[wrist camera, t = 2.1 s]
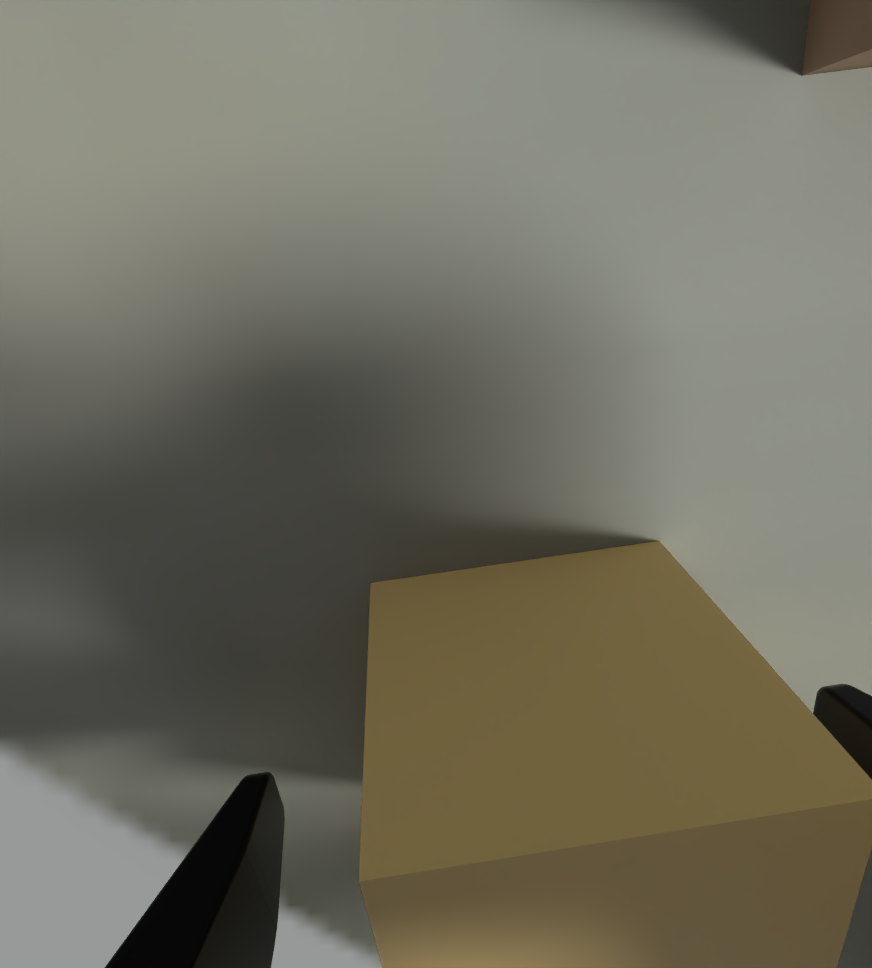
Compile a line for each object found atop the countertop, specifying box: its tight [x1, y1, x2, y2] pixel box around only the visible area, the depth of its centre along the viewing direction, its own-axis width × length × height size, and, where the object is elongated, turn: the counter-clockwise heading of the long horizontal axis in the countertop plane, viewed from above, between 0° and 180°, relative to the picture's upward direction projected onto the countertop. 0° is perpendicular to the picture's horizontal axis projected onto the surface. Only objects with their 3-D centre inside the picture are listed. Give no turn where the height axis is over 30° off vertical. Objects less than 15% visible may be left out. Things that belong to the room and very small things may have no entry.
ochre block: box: [359, 541, 872, 968], centre depth 9 cm, size 5×5×5 cm
